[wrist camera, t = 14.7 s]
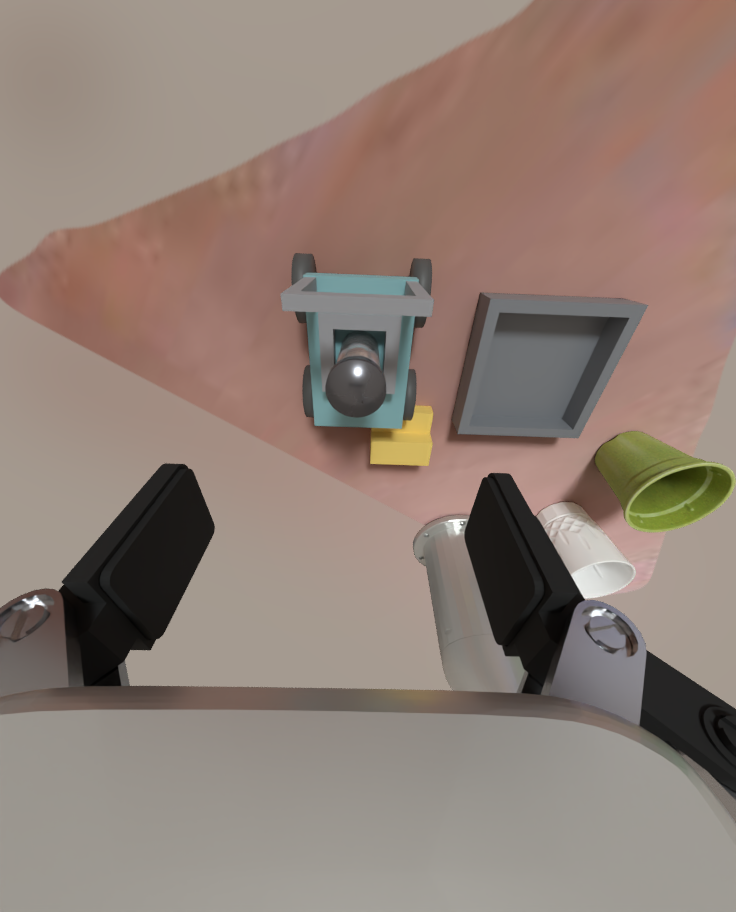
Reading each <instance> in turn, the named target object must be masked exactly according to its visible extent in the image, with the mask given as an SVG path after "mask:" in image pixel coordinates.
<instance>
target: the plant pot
mask: <svg viewBox="0 0 736 912" xmlns="http://www.w3.org/2000/svg"><path fill="white" fill-rule="evenodd" d="M595 464H596V466H597V468H598V469H599V471H600V472H601V474H602V475H603V477H604V478H605V480H606V481H607V483H608V484H609V486H610V487H611V489H612V490H613V492H614V493H615V495H616V496H617V498H618V499H619V501H620V502H621V506H622V509H623V511H624V518H625V520H626V522H627V523H628V524H629V525H630V526H631V527H632V528H634V529H636V530H638V531H643V532H664V531H670V530H673V529H678V528H681V527H684V526H687V525H690V524H692V523H694V522H697V521H699V520H700V519H702V518H704V517H706V516H707V515H709V514H710V513H712V512H713V511H715V510H716V509H717V508H719V507H720V506H721V505H722V504H723V503H724V502H725V501H726V500H727V498H729V496H730V495H731V493H732V491H733V489H734V487H735V483H736V480H735V475H734V473H733V471H732V470H731V469H730V468H728V467H726V466H724V465H722V464H719V463H715V462H706V461H704V460H701V459H697V458H693V457H691V456H689V455H687V454H685V453H683V452H681V451H679V450H677V449H675V448H673V447H671V446H669V445H667V444H665V443H663V442H661V441H659V440H657V439H655V438H653V437H651V436H649V435H647V434H645V433H643V432H638V431H631V432H625V433H622V434H619V435H617V437H616V438H614V439H613V440H611V441H609V442H606V443H604V444H603V445H602V446H601V448H600V449H599V450H598V452H597V454H596V457H595Z"/></svg>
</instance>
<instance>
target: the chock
mask: <svg viewBox="0 0 736 912" xmlns="http://www.w3.org/2000/svg"><path fill="white" fill-rule="evenodd" d="M432 419H433V411H432V408H431V406H415V409H414V414H413V418H412V420H411V421H407V420H403V422H402V429H394V428H371V442H370V464H391V465H419V466H428V465H429V460H430V455H431V449H432V444H433V443H432V440H431V436H430V429H431V424H432Z"/></svg>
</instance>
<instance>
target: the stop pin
mask: <svg viewBox="0 0 736 912" xmlns="http://www.w3.org/2000/svg"><path fill="white" fill-rule="evenodd" d="M325 391H326V396H327V399H328V401H329V403H330V404H331V406H332V407H333V408H334V409H335V410H336V411H338V412H339V413H341V414H343V415H345V416H348V417H355V418H358V417H365V416H368V415H370V414H372V413H374V412H375V411H377V410H378V409H379V408H380V407H381V405H382V404H383V402H384V400H385V397H386V379H385V376H384V373H383V371H382V370H381V368H380V359H379V346H378V343H377V341H376V339H375V338H374V337H373V336H372V335H371V334H370V333H368V332H365V331H354V332H351V333H349V334H348V335H347V336H346V337H345V338H344V340H343V341H342V344H341V348H340V352H339V355H338V359H337V363H335V364H334V366H333V367H332V368H331V370H330V372H329V374H328V377H327V380H326V385H325Z"/></svg>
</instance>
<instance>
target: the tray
mask: <svg viewBox="0 0 736 912" xmlns="http://www.w3.org/2000/svg"><path fill="white" fill-rule="evenodd" d="M647 306H648V305H646V304H642V303H638V302H635V301H631V300H627V299H621V298H597V297H573V296H549V295H525V294H501V293H480V296H479V301H478V305H477V309H476V314H475V318H474V323H473V327H472V332H471V336H470V341H469V345H468V350H467V354H466V358H465V363H464V367H463V372H462V376H461V381H460V385H459V390H458V394H457V398H456V403H455V407H454V412H453V416H452V422H453V424H454V427H455V429H456V431H457V434H474V435H502V436H531V437H559V438H579V436H580V434H581V432H582V430H583V429H584V427H585V425H586V423H587V421H588V419H589V417H590V415H591V413H592V411H593V409H594V408H595V406H596V404H597V402H598V400H599V398H600V396H601V394H602V392H603V390H604V389H605V387H606V385H607V383H608V381H609V379H610V377H611V375H612V373H613V371H614V369H615V368H616V366H617V364H618V362H619V360H620V358H621V356H622V354H623V352H624V350H625V348H626V347H627V345H628V343H629V341H630V339H631V337H632V335H633V333H634V331H635V329H636V327H637V326H638V324H639V322H640V320H641V318H642V316H643V314H644V312H645V310H646V308H647Z"/></svg>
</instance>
